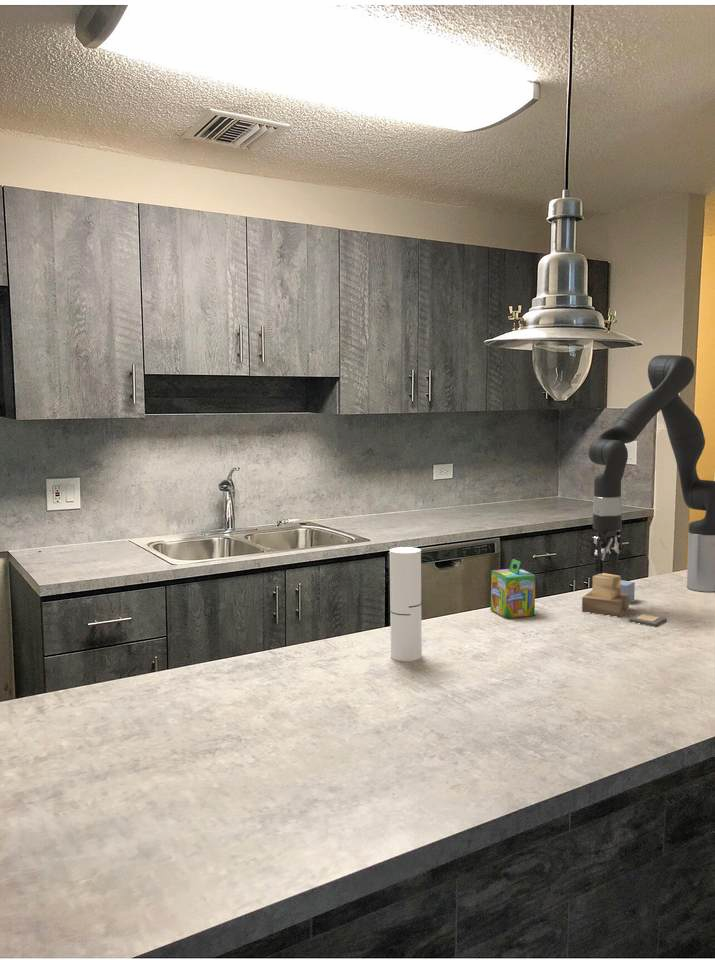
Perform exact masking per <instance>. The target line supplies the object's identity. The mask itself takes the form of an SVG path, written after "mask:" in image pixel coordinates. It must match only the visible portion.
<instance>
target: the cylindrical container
mask: <svg viewBox="0 0 715 960" xmlns="http://www.w3.org/2000/svg"><path fill="white" fill-rule="evenodd" d="M389 595H390V596H389V599H390V600H389V604H390V607H389V608H390V609H389V610H390V619H389V620H390V657H392V658H391V659H393V660H395V661H397V662H398V661H399V662H415V661H419V660H420V659H421V658H422V655H423V653H422V652H423V651H422V650H423V649H422V644H423V643H422V640H423V639H422V549H421V548H418V547H413V546H402V547H401V546H399V547H394V548H390V549H389Z"/></svg>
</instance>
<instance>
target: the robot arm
mask: <svg viewBox="0 0 715 960" xmlns="http://www.w3.org/2000/svg"><path fill="white" fill-rule="evenodd" d="M695 371H696V370H695V363H694V362H693V360H692V358H690V357H688V356H686V355H680V354H679V355H676V354H674V355H673V354H662V355H656V356H654V357H652V358H651V359H650V361H649V363H648V366H647V376H648V381H649V385H650V387H651V389H652V390H651V391H650V392H648V393H647V394H645V395H644V396H642V397H640V398H639V399H637V400H636V401H634V402H633V403H631V404H630V405H629V406H627V408H625V410H624V411H623V412H622V413H621V414H620V416H618V418H617V419H616V421H615V422H614V423H613V425H611V426H610V427H608V428H607V429H606V430H605V429H604V431H603V432H602V433H601V434H599V435H598V436H596V438H595V439H593V441H592V442H591V443H590V446H589V449H588V457H589V460H590V461H591V462H592V463H594V464H595V465H598V466H599V465H601V466H605V468H604V470H603V473H600V474H597V475H595V477H594V481H593V502H592V529H593V530H595V531H597V535H596V536H591V537H590V538H591V539H590V558H591V559H593V560H594V561H595V562H594V565H595V566H594V567H595V569H594V573H595V574H603V573H605V556H606V554H608V553H609V554H608V557H609V558H608V567H610V568H612V569H613V568H614V569H617V568H618V565H619V562H618V561H619V554H620V552H622V550H623V530H622V529H623V528H622V527H623V526H622V523H623V522H622V521H623V520H622V519H623V518H622V517H623V516H622V515H623V512H622V511H623V506H622V505H623V503H622V480H623V477H624V474H625V470H626V466H627V463H628V458H629V457H628V456H629V451H628V449H627V446H626V444H629V443H633V441H635V440H636V439H637V438H638V437H639V436H640V434H641V433H642V431H644V429H645V427H646V426H647V425H649V424H648V423H650V422H651V420H652V419H653V418H654V417H655V416H656V415H657V414H658V413H659V412H660V411H661V414H662V418H663V420H664V423H665V426H666V431H667V436H668V438H669V443H670V445H671V449H672V452H673V455H674V458H675V463H676V466H677V471H678V475H679V476H678V477H679V480H680V481H679V482H680V487H681V492H682V493H681V494H682V498H683V501H684V503H685V505H686V507H688V508H689V509H691V510H697V511H704V512H705V516H704V517H703V518H702V519H698V520H695V521H691V522H690V523H689V524H688V537H687V538H688V539H687V540H688V541H687V568H686V569H687V571H686V587H687V589H690V590H692V591H696V592H704V593H707V592H715V480H709V479H707V480H706V479H700V478H699V476H698V473H697V464H698V461H700V457H701V456H702V454H703V451H704V449H705V446H706V439H705V434H704V429H703V427H702V423H701V421H700V419H699V418H698V416H697V415H696V414H695V412H693V410H692V409H691V408H690V407H689V406H688V405H687V404H686V403H685V401H684V400H683V399H682V398H681V396H680V395H679V394H680V393H682V391H683V390H684V389H685V388H687V386H689V384H691V382H692V380H693V378H694V375H695Z"/></svg>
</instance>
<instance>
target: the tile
mask: <svg viewBox="0 0 715 960" xmlns="http://www.w3.org/2000/svg"><path fill="white" fill-rule="evenodd" d="M629 621H630V622H629ZM666 621H667V617H664V616H657V615H653V614H647V613H646V614H645V613H642V612H639V613H638V614H635V615H634V616H632V617H630V618H628V622H629V623H632V622H635V623H634V624H638V623H640V624H639V625H643V624H645V625H644V626H648V625H649V626H650V627H653V626H654V628H656V627H658V626H659V624H660V625H662V624H663V623H665V622H666ZM661 623H662V624H661Z"/></svg>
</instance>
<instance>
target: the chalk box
mask: <svg viewBox="0 0 715 960" xmlns="http://www.w3.org/2000/svg"><path fill="white" fill-rule="evenodd" d="M515 565H516V568H514V566H515ZM521 566H522V562H521V561H520V560H517V559H514V558H513V559H512V560H511V561H510V566H509V568H506V569H494V570H492V569H491V576H490V577H491V578H490V580H491V582H490V583H491V585H490V586H491V587H490V611H492V612H494V613H495V614H498V615H499V616H501V617H502V618H503V619H505V620H507V619H513V618H515V619H516V618H525V617H526V618H527V617H534V616H536V615H535V614H536V613H535V611H536V609H535V608H536V607H535V606H536V605H535V604H536V602H535V601H536V580H537V579H536V575H535V574H534V573H532V572H529V571H527V570H525V569H523V568H521Z"/></svg>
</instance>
